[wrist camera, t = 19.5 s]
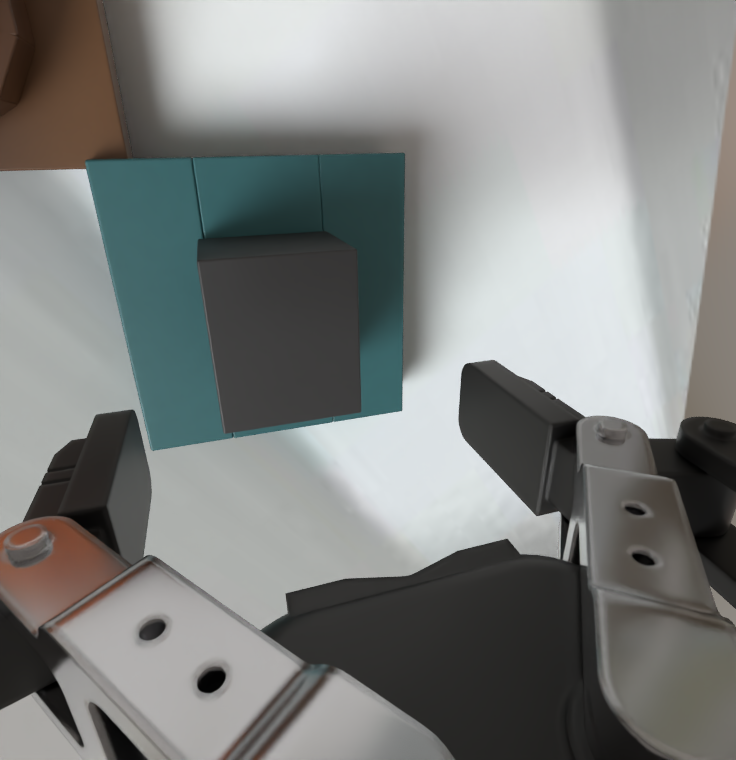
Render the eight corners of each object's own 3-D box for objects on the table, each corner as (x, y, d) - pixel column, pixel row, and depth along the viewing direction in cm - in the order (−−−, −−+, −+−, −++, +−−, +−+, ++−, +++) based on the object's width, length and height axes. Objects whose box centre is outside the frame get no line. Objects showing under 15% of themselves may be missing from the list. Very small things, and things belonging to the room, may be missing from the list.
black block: (217, 362, 24) (223, 435, 17) (197, 230, 21) (196, 260, 15) (322, 349, 25) (362, 413, 19) (314, 223, 22) (357, 249, 16)
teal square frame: (155, 425, 24) (150, 452, 22) (96, 159, 19) (83, 159, 17) (386, 391, 27) (402, 411, 25) (385, 152, 22) (405, 152, 20)
